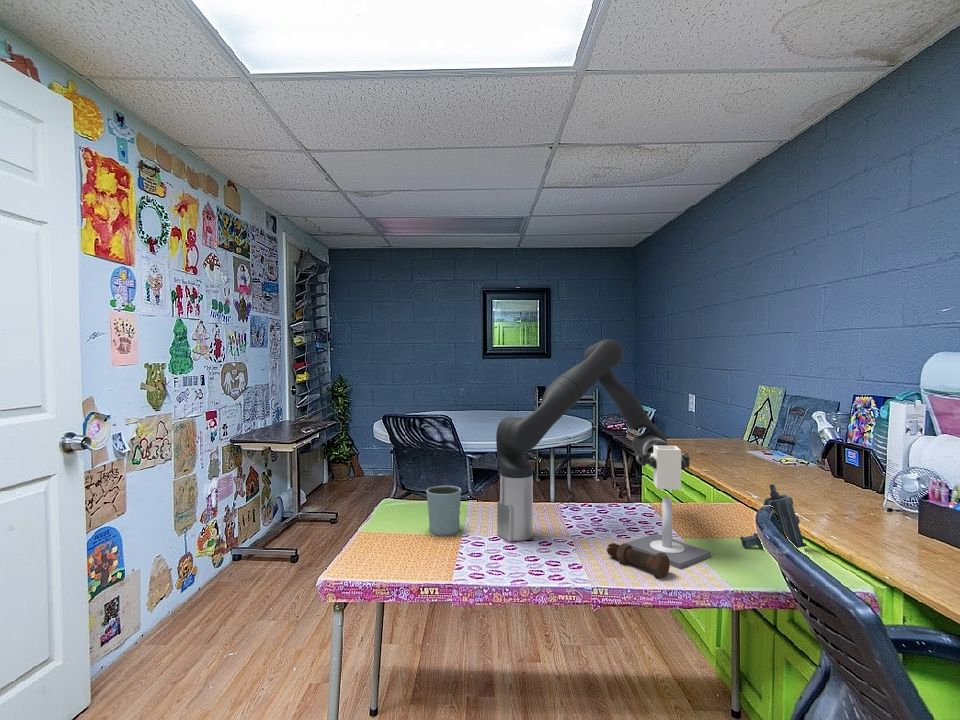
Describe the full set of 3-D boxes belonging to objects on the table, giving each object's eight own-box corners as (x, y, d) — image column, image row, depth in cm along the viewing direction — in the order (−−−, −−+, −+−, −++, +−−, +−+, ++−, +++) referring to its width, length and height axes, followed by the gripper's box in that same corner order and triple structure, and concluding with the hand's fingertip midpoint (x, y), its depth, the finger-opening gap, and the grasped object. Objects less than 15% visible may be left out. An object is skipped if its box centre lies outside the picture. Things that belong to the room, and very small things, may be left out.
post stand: (679, 568, 117) (679, 509, 117) (625, 547, 130) (625, 493, 130) (710, 556, 124) (710, 500, 124) (656, 537, 137) (656, 486, 137)
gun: (727, 493, 132) (784, 480, 130) (744, 554, 131) (801, 542, 130) (731, 496, 129) (789, 482, 128) (748, 558, 129) (807, 545, 127)
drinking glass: (452, 538, 136) (452, 495, 136) (420, 534, 140) (420, 492, 140) (466, 527, 146) (466, 486, 146) (435, 523, 149) (435, 483, 149)
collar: (681, 489, 124) (681, 450, 124) (657, 488, 125) (656, 449, 125) (676, 484, 130) (676, 446, 129) (653, 483, 131) (653, 445, 131)
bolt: (612, 563, 125) (666, 582, 113) (600, 557, 122) (654, 576, 110) (618, 540, 127) (672, 557, 115) (607, 534, 124) (661, 550, 112)
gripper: (631, 438, 143) (639, 449, 126) (684, 440, 140) (699, 451, 123) (631, 464, 143) (639, 478, 126) (684, 466, 140) (699, 481, 123)
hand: (668, 465), depth 125 cm, fingers closed on collar, 5 cm apart
